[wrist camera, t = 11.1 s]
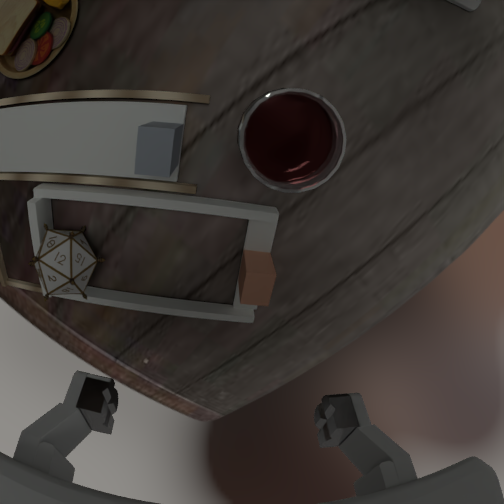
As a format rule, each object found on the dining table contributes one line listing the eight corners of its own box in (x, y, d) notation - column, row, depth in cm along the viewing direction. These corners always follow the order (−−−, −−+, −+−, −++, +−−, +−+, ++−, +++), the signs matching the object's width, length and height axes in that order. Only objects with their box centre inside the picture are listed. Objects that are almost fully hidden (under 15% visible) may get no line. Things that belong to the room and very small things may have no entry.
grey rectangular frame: (279, 207, 32) (288, 227, 27) (254, 312, 38) (258, 340, 34) (42, 183, 27) (19, 198, 23) (55, 286, 34) (40, 309, 30)
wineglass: (311, 141, 29) (360, 169, 18) (251, 168, 30) (266, 211, 19) (285, 81, 25) (323, 71, 15) (221, 109, 26) (218, 114, 16)
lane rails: (210, 95, 26) (209, 95, 25) (185, 312, 38) (184, 318, 37) (-14, 102, 21) (-20, 103, 20) (5, 281, 33) (1, 285, 32)
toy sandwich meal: (30, 98, 23) (5, 102, 19) (-16, 45, 17) (-40, 44, 13) (103, 10, 20) (84, -1, 15) (46, -35, 14) (27, -46, 10)
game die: (89, 245, 36) (56, 311, 31) (46, 205, 30) (5, 276, 25) (129, 247, 32) (91, 327, 27) (80, 198, 26) (28, 287, 21)
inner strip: (187, 105, 26) (178, 106, 20) (177, 179, 29) (167, 198, 24) (-2, 109, 22) (-34, 116, 17) (-2, 169, 25) (-31, 185, 20)
